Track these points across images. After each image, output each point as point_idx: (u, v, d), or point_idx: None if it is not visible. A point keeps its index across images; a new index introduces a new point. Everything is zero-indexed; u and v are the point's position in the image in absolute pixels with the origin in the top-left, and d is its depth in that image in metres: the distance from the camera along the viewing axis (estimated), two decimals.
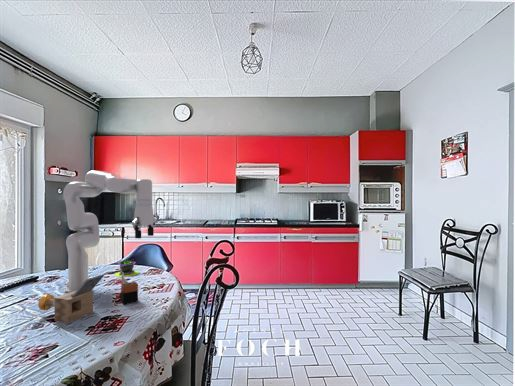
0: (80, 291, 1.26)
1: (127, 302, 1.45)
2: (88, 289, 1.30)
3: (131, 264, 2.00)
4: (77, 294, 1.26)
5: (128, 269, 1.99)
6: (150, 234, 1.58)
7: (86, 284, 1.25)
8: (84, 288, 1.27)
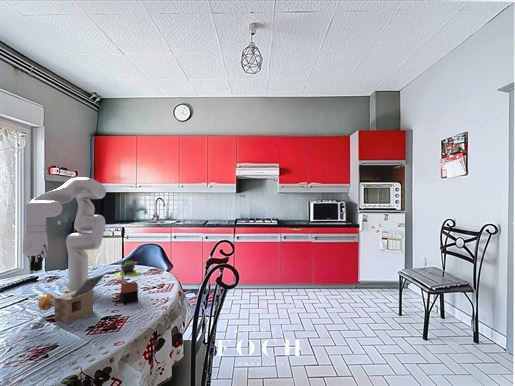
0: (80, 291, 1.26)
1: (127, 302, 1.45)
2: (88, 289, 1.30)
3: (132, 264, 2.00)
4: (77, 294, 1.26)
5: (129, 269, 1.99)
6: None
7: (86, 284, 1.25)
8: (84, 288, 1.27)
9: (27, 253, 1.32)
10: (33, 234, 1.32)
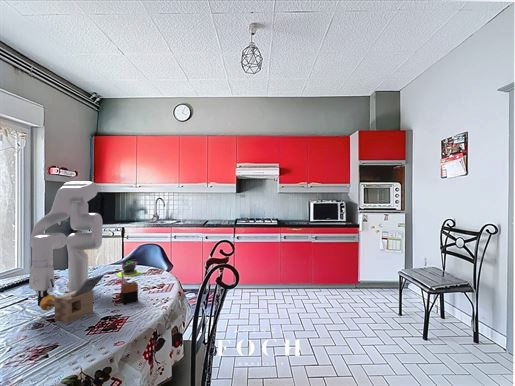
0: (80, 291, 1.26)
1: (127, 302, 1.45)
2: (88, 289, 1.30)
3: (133, 264, 2.01)
4: (77, 294, 1.26)
5: (130, 269, 1.99)
6: None
7: (86, 284, 1.25)
8: (84, 288, 1.27)
9: (33, 288, 1.31)
10: (40, 269, 1.30)
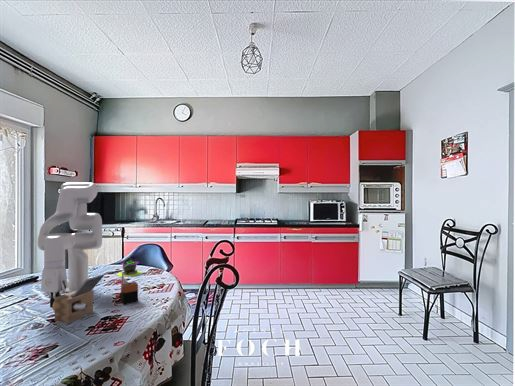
0: (80, 291, 1.26)
1: (127, 302, 1.45)
2: (88, 289, 1.30)
3: (134, 264, 2.01)
4: (77, 294, 1.26)
5: (131, 269, 1.99)
6: None
7: (86, 284, 1.25)
8: (84, 288, 1.27)
9: (45, 290, 1.29)
10: (52, 271, 1.28)
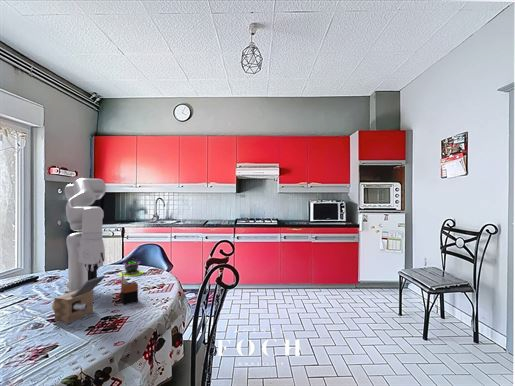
0: (80, 291, 1.26)
1: (127, 302, 1.45)
2: (88, 290, 1.30)
3: (136, 264, 2.01)
4: (77, 294, 1.26)
5: (133, 269, 1.99)
6: None
7: (87, 285, 1.25)
8: (84, 289, 1.27)
9: (83, 262, 1.26)
10: (91, 242, 1.25)
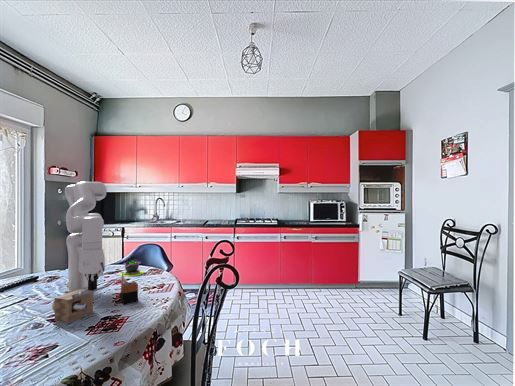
0: None
1: (127, 302, 1.45)
2: None
3: (136, 264, 2.01)
4: None
5: (133, 269, 1.99)
6: None
7: (90, 292, 1.24)
8: (86, 293, 1.26)
9: (83, 272, 1.25)
10: (91, 252, 1.25)
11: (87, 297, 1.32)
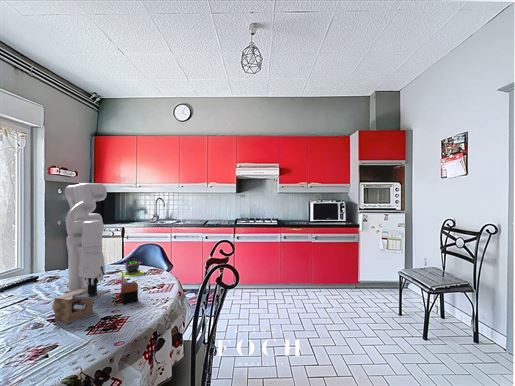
0: None
1: (127, 302, 1.45)
2: None
3: (137, 264, 2.01)
4: None
5: (134, 269, 1.99)
6: None
7: None
8: None
9: (83, 276, 1.25)
10: (91, 256, 1.25)
11: None
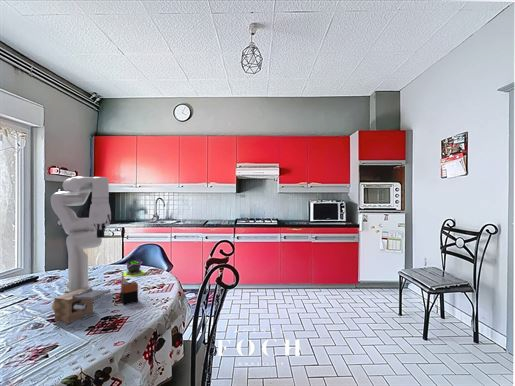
0: None
1: (127, 302, 1.45)
2: None
3: (138, 264, 2.01)
4: None
5: (135, 269, 1.99)
6: None
7: None
8: None
9: (93, 222, 1.51)
10: (99, 205, 1.50)
11: None
